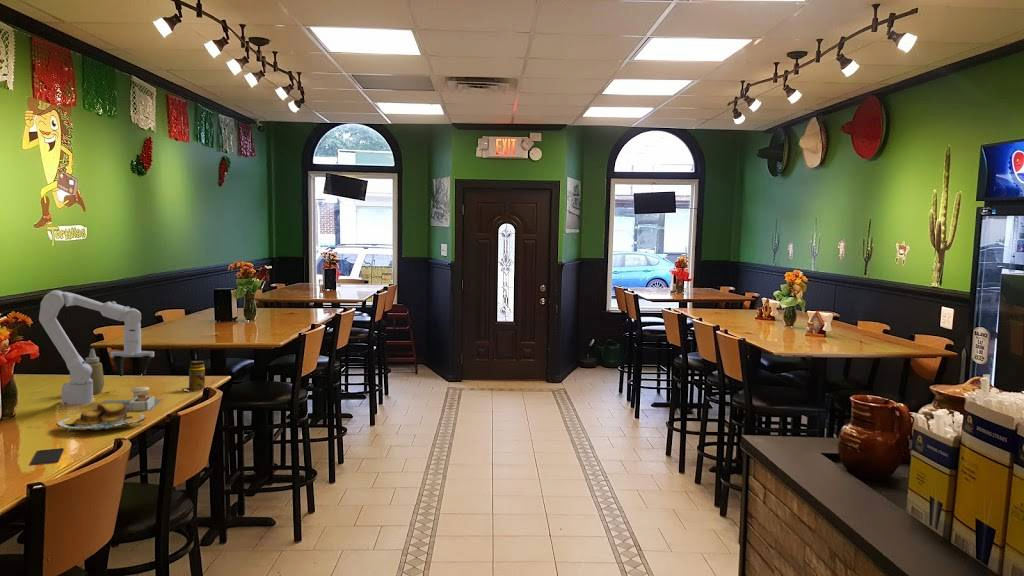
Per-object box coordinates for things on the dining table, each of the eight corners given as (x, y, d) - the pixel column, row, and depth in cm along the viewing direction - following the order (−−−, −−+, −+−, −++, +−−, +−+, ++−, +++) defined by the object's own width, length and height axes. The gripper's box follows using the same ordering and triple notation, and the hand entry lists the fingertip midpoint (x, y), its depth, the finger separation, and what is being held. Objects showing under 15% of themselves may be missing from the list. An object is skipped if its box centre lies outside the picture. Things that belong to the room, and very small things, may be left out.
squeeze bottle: (106, 390, 269) (106, 347, 268) (101, 395, 261) (101, 350, 260) (84, 391, 266) (83, 347, 265) (77, 395, 259) (77, 350, 257)
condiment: (206, 390, 276) (207, 362, 275) (184, 392, 271) (184, 363, 270) (204, 386, 282) (204, 359, 281) (182, 388, 277) (182, 360, 276)
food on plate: (37, 433, 212) (37, 413, 211) (97, 414, 236) (97, 396, 236) (107, 440, 208) (107, 419, 207) (161, 419, 232) (161, 401, 232)
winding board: (88, 416, 232) (88, 398, 231) (104, 404, 248) (104, 387, 248) (150, 414, 237) (150, 396, 236) (162, 402, 253) (162, 386, 253)
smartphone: (65, 447, 198) (58, 462, 185) (65, 449, 198) (58, 464, 185) (36, 450, 194) (28, 465, 182) (36, 452, 194) (28, 467, 182)
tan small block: (137, 408, 239) (137, 394, 238) (140, 405, 243) (140, 392, 242) (145, 408, 239) (145, 394, 239) (148, 405, 243) (148, 392, 243)
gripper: (107, 342, 245) (107, 378, 246) (150, 342, 249) (150, 377, 250) (113, 339, 252) (114, 374, 253) (155, 339, 255) (155, 373, 256)
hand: (132, 375), depth 252 cm, fingers open, 7 cm apart
